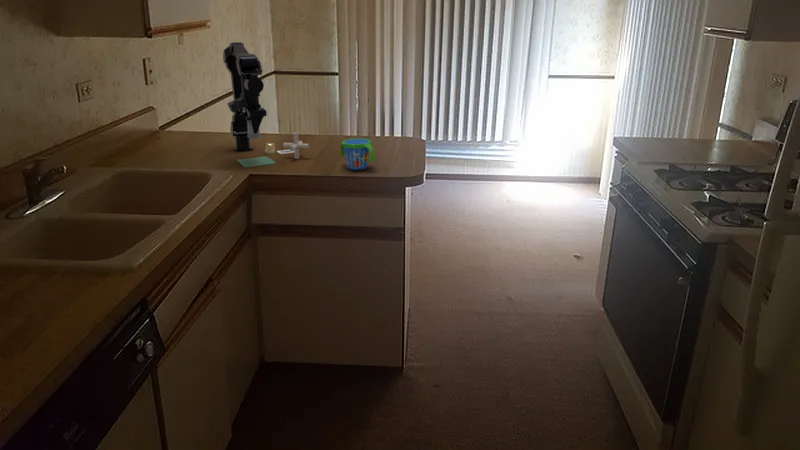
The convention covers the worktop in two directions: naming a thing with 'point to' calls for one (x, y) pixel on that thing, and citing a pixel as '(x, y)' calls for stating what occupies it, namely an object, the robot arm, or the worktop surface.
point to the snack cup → (357, 153)
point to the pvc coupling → (250, 131)
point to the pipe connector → (296, 145)
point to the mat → (256, 162)
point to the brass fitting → (269, 148)
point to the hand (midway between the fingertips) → (253, 132)
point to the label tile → (285, 151)
